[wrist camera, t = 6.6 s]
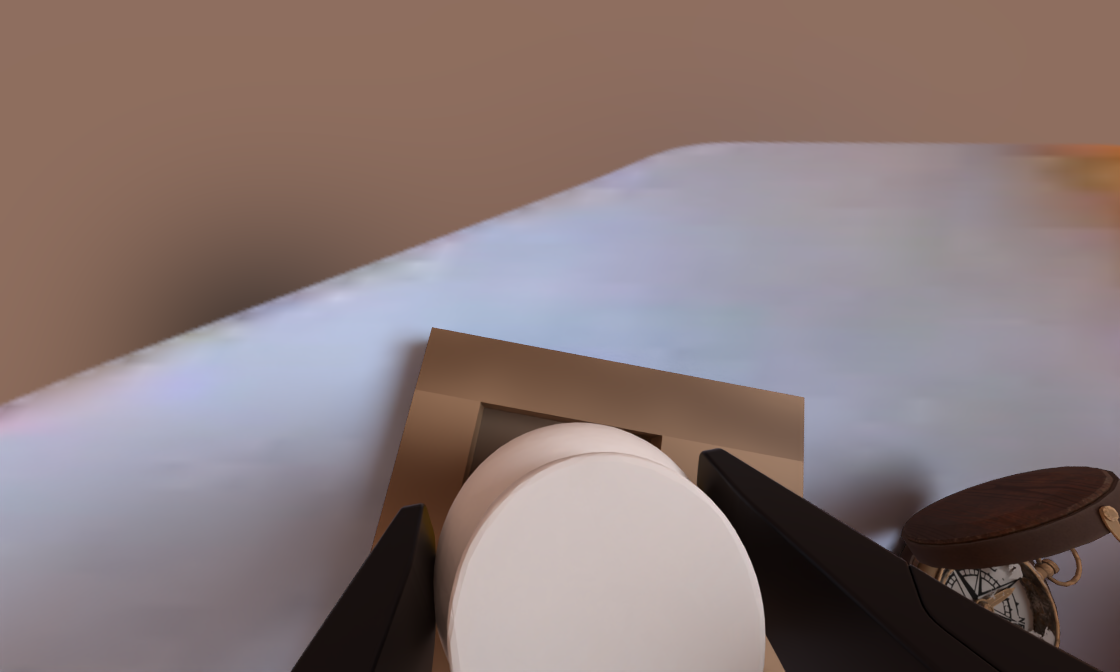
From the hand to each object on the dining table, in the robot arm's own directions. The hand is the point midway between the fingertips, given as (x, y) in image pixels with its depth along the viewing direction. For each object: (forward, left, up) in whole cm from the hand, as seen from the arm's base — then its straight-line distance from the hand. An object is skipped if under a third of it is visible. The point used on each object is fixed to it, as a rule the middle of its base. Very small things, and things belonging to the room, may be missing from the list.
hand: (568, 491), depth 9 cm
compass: (-1, -18, -10) cm, 21 cm away
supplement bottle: (-1, 0, -7) cm, 7 cm away
